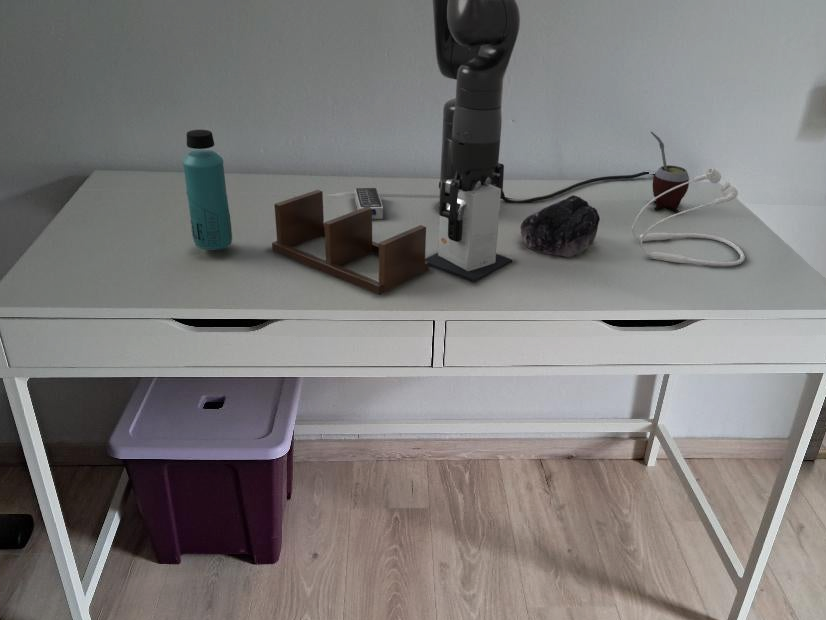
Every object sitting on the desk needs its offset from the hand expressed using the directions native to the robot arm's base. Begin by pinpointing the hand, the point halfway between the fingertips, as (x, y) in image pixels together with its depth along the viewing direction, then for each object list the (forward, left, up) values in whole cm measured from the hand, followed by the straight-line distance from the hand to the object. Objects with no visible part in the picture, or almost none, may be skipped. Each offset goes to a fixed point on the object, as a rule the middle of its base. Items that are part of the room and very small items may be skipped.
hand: (469, 232), depth 132 cm
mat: (0, 0, -5) cm, 5 cm away
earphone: (-32, +26, -6) cm, 42 cm away
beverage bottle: (+26, -34, -6) cm, 43 cm away
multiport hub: (-7, -29, -6) cm, 30 cm away
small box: (0, 0, -5) cm, 5 cm away
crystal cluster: (-18, +7, -6) cm, 20 cm away
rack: (+13, -15, -5) cm, 21 cm away
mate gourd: (-50, +13, -6) cm, 52 cm away
